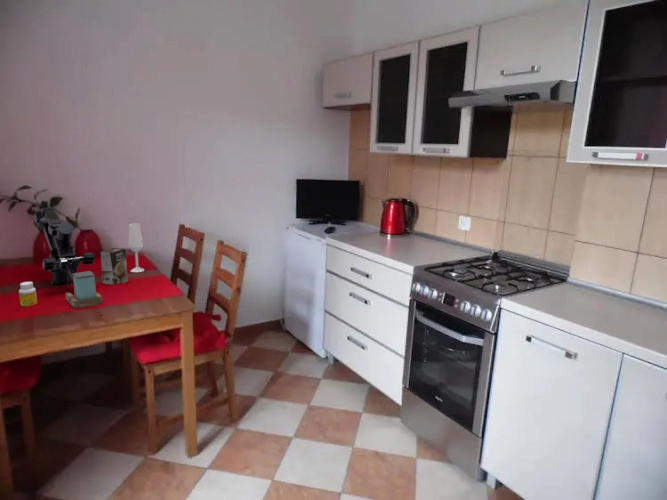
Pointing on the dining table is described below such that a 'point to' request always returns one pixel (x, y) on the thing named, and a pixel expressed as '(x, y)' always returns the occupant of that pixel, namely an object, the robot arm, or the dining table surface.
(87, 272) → the grey teal box
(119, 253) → the coffee box
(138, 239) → the champagne flute
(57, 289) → the dining table surface
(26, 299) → the supplement bottle
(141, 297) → the dining table surface
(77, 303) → the walnut track
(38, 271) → the dining table surface
